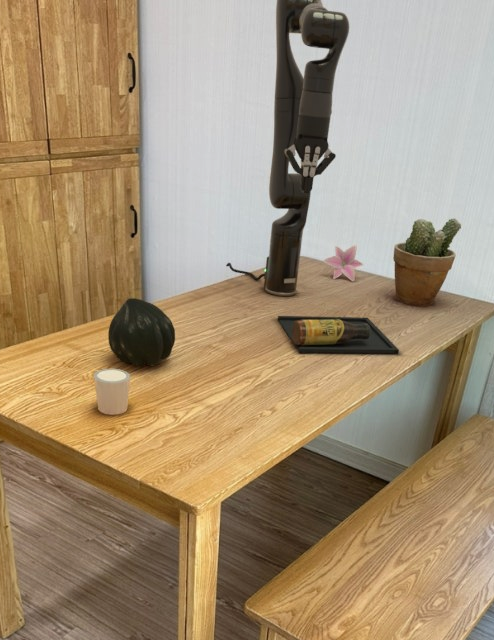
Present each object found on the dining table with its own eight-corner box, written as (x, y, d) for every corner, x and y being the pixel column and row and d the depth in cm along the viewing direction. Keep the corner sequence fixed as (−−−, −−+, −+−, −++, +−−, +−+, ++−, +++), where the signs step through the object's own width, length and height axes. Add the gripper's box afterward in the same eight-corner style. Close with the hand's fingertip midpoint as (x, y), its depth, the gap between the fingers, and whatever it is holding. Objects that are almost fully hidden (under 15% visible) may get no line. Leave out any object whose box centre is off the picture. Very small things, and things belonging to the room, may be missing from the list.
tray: (299, 353, 171) (300, 348, 170) (277, 319, 190) (278, 315, 190) (398, 354, 177) (399, 349, 176) (367, 321, 196) (367, 317, 195)
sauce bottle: (295, 314, 171) (367, 311, 177) (288, 331, 176) (358, 327, 183) (302, 335, 168) (375, 331, 175) (295, 352, 174) (366, 347, 180)
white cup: (96, 399, 139) (95, 367, 135) (131, 401, 140) (131, 368, 136) (92, 415, 134) (91, 381, 130) (129, 416, 134) (128, 383, 131)
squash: (196, 335, 159) (156, 279, 155) (168, 359, 147) (124, 299, 143) (154, 364, 167) (115, 311, 163) (124, 389, 155) (81, 332, 151)
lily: (316, 277, 234) (323, 255, 225) (333, 257, 239) (340, 236, 231) (346, 295, 232) (354, 274, 224) (362, 275, 238) (371, 254, 229)
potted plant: (408, 312, 207) (427, 224, 194) (372, 292, 220) (387, 209, 207) (455, 308, 215) (476, 223, 201) (418, 289, 228) (435, 209, 215)
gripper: (336, 114, 168) (326, 191, 177) (283, 109, 165) (276, 188, 174) (346, 117, 162) (334, 197, 171) (291, 112, 159) (282, 194, 168)
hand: (305, 192), depth 173 cm, fingers closed
